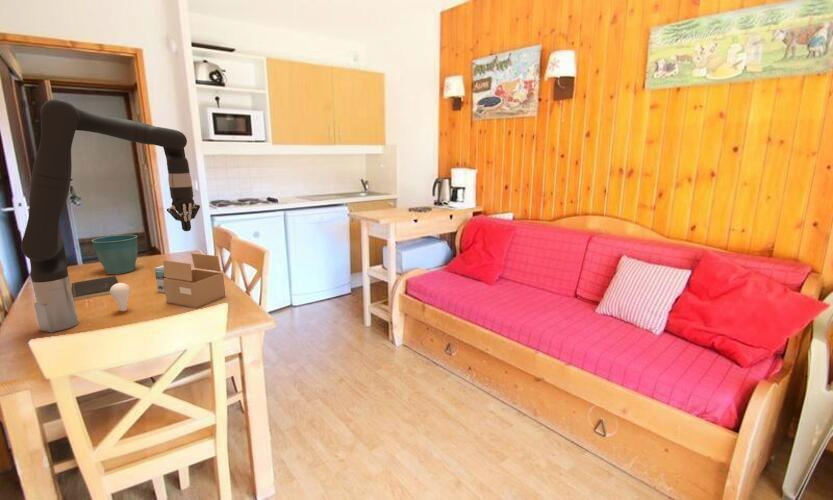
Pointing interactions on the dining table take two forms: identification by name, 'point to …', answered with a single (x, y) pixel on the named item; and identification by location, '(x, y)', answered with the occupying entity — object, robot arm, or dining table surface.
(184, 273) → the near flap
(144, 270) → the dining table surface
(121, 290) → the lightbulb
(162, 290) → the light bulb box
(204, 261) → the far flap
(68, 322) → the robot arm
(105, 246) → the flower pot
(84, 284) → the hardcover book
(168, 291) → the carton
